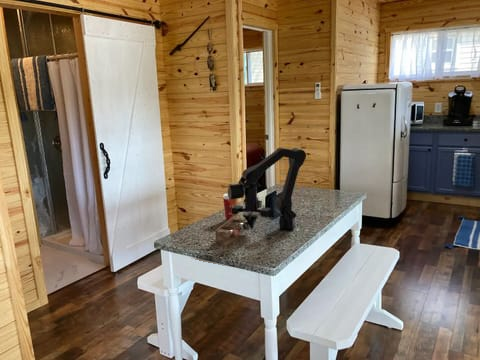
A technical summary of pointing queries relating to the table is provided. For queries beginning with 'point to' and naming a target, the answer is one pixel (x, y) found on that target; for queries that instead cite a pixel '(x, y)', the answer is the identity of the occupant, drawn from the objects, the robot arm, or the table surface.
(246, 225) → the charcoal knob
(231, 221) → the mount
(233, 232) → the brick knob
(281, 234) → the table surface
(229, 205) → the paper cup
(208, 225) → the table surface
